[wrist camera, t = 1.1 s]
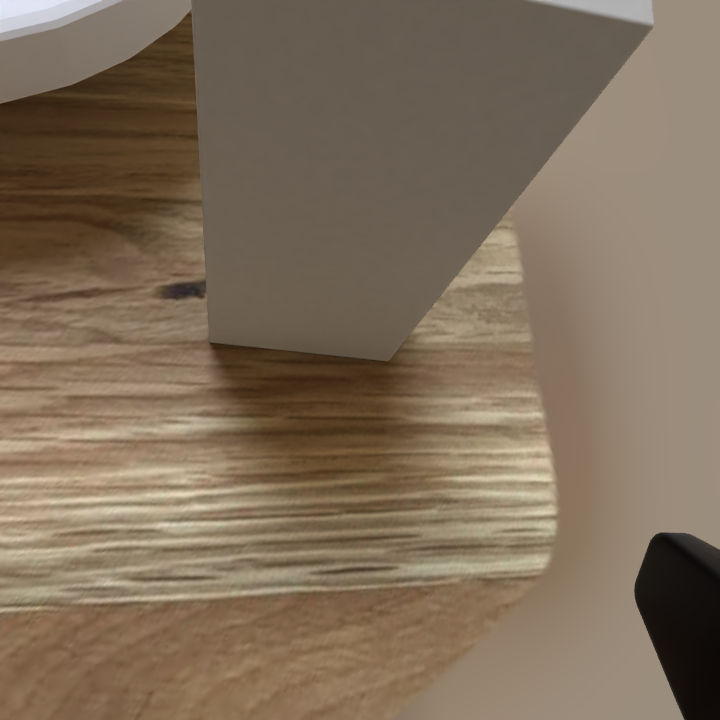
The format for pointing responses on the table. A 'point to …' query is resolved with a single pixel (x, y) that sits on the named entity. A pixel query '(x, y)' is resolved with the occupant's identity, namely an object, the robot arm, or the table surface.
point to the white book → (377, 150)
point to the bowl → (75, 39)
